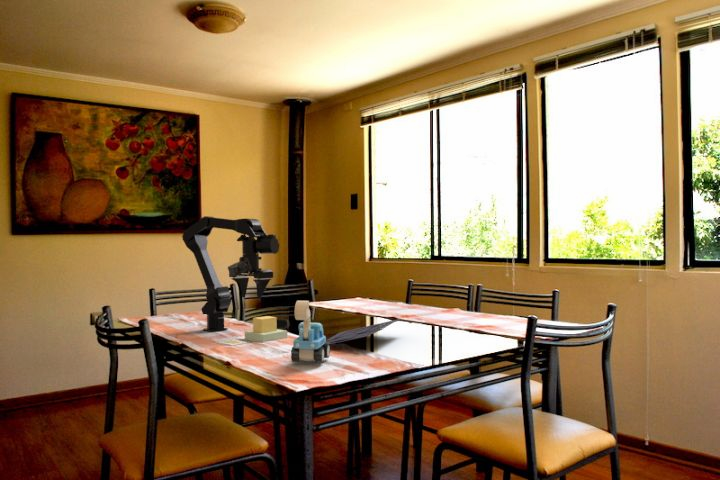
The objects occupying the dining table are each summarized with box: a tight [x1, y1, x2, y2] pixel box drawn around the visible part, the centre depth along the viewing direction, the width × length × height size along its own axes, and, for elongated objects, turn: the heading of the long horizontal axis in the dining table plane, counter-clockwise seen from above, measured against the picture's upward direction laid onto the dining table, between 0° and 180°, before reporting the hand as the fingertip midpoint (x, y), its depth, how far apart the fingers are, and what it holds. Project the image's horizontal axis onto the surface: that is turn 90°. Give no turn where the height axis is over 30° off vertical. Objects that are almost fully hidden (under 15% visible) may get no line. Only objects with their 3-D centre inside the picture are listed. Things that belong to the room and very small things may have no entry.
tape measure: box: [277, 318, 291, 330], centre depth 199 cm, size 7×7×4 cm
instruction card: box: [217, 339, 248, 347], centre depth 175 cm, size 8×6×1 cm
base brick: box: [244, 329, 288, 343], centre depth 182 cm, size 10×10×3 cm
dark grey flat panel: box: [326, 318, 401, 345], centre depth 177 cm, size 24×30×4 cm
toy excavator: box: [290, 300, 331, 363], centre depth 145 cm, size 9×17×17 cm, turn 170°
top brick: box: [252, 315, 278, 333], centre depth 182 cm, size 5×6×4 cm
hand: (251, 298), depth 193 cm, fingers open, 9 cm apart
